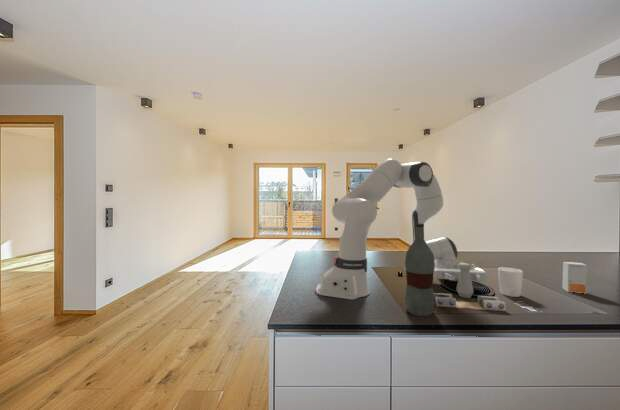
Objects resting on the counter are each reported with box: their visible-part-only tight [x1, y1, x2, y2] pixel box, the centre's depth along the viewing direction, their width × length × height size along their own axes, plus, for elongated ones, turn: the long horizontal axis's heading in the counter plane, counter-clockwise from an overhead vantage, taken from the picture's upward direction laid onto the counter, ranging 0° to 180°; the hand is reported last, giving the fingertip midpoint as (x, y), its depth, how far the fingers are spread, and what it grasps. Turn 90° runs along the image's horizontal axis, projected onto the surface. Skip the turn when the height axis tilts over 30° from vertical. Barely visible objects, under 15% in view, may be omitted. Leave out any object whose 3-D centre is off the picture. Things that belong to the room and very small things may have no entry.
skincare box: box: [561, 261, 588, 295], centre depth 106 cm, size 6×4×12 cm
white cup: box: [497, 266, 524, 298], centre depth 103 cm, size 8×8×10 cm
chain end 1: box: [433, 292, 457, 309], centre depth 93 cm, size 6×5×3 cm
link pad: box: [456, 300, 485, 311], centre depth 92 cm, size 9×6×1 cm
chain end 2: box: [477, 295, 506, 312], centre depth 90 cm, size 6×5×3 cm
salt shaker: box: [456, 262, 474, 299], centre depth 101 cm, size 6×6×13 cm
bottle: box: [404, 223, 436, 317], centre depth 87 cm, size 9×9×30 cm
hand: (465, 279), depth 100 cm, fingers open, 8 cm apart
